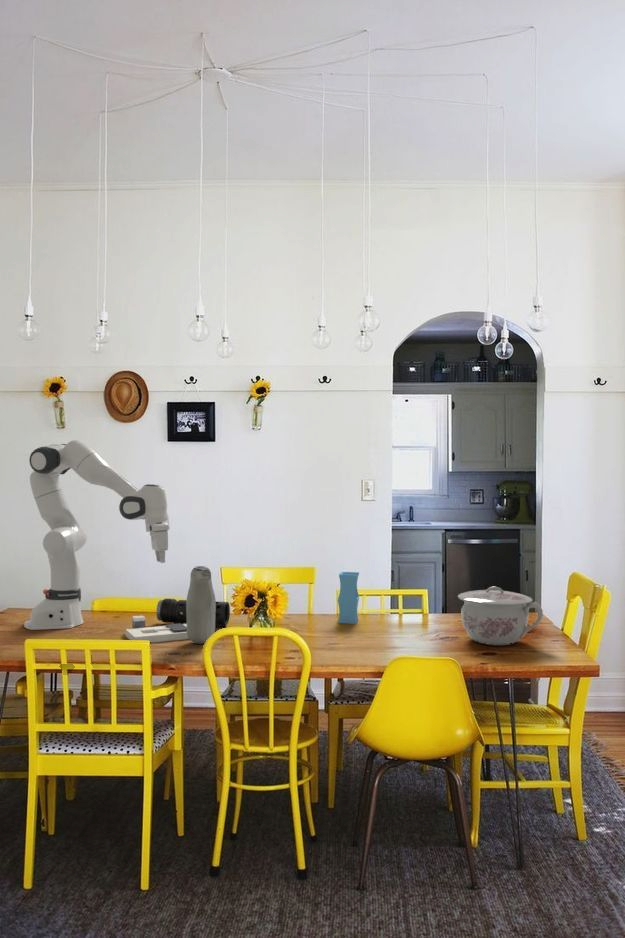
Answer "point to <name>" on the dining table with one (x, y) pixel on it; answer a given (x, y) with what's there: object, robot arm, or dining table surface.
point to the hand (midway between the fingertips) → (161, 562)
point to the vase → (348, 597)
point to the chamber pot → (497, 615)
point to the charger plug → (138, 622)
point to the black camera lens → (177, 613)
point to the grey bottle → (200, 606)
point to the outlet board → (159, 633)
